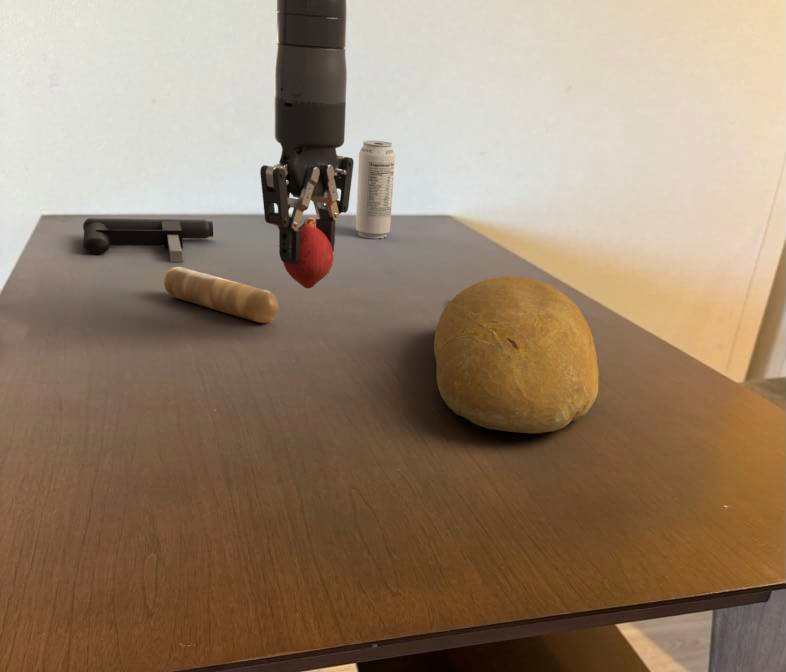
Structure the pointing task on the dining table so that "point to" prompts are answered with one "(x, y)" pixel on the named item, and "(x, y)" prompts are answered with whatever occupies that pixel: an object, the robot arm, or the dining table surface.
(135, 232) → the door handle
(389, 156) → the energy drink can
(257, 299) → the tan rounded rod
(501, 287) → the bread
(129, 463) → the dining table surface
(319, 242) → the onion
